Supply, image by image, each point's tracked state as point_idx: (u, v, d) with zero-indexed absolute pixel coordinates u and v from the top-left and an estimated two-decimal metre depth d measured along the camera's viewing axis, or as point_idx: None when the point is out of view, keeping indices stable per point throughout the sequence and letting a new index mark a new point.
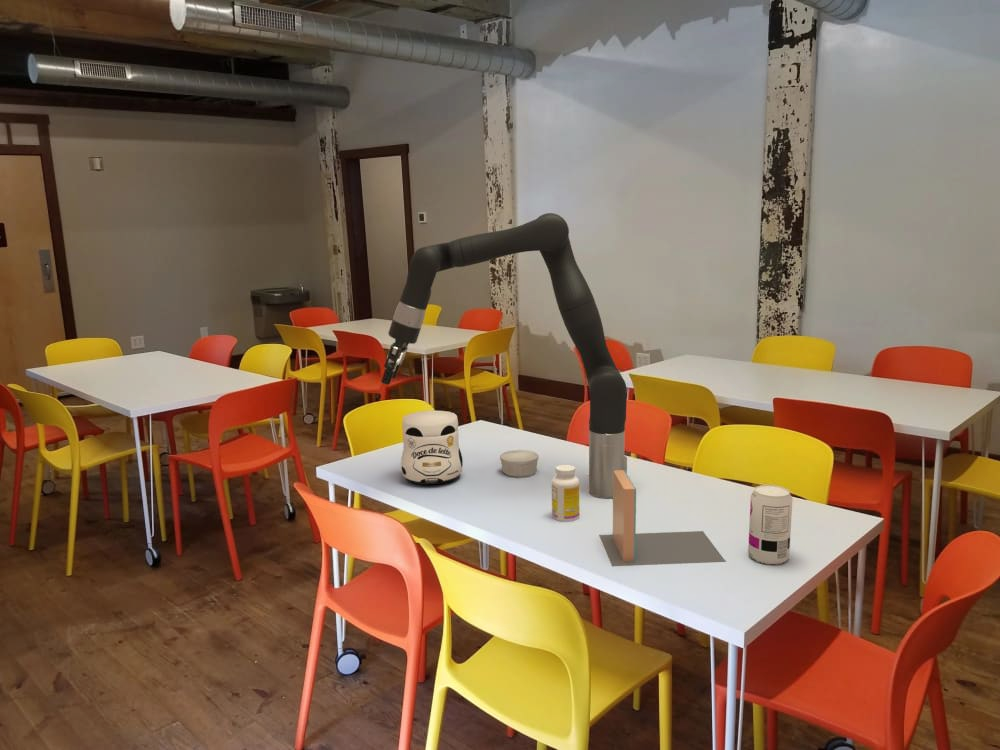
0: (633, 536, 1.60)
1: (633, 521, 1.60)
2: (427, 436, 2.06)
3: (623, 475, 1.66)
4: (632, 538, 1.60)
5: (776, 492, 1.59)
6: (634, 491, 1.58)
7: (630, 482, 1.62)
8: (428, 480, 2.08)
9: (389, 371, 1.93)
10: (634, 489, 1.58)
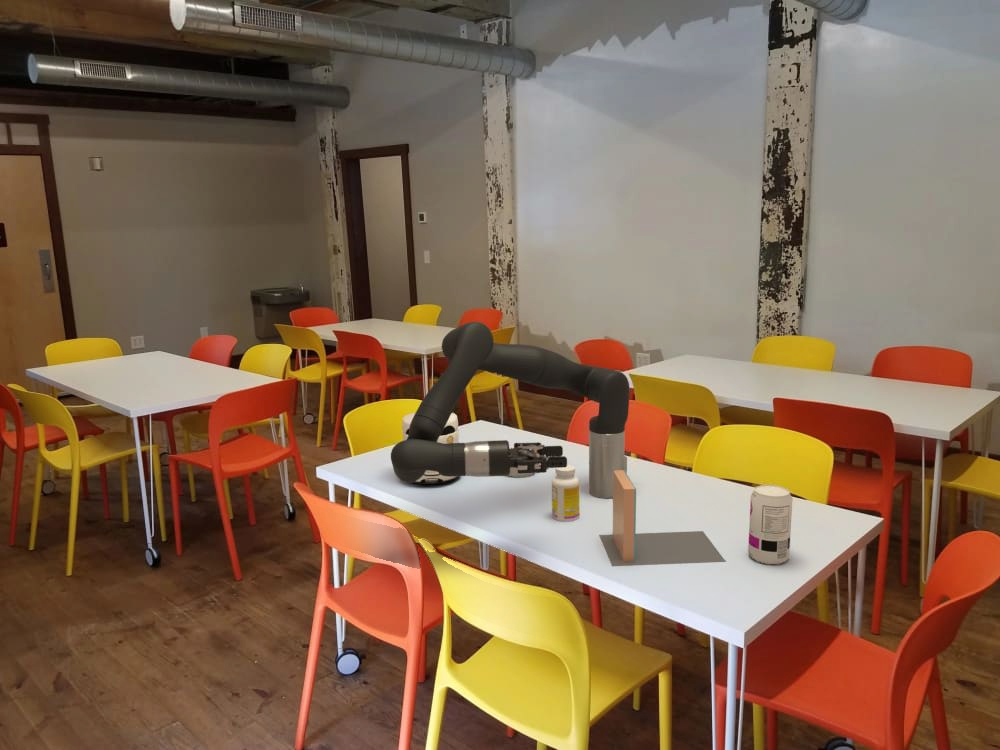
0: (633, 536, 1.60)
1: (633, 521, 1.60)
2: None
3: (623, 475, 1.66)
4: (632, 538, 1.60)
5: (776, 492, 1.59)
6: (634, 491, 1.58)
7: (630, 482, 1.62)
8: (428, 480, 2.08)
9: (549, 463, 1.57)
10: (634, 489, 1.58)
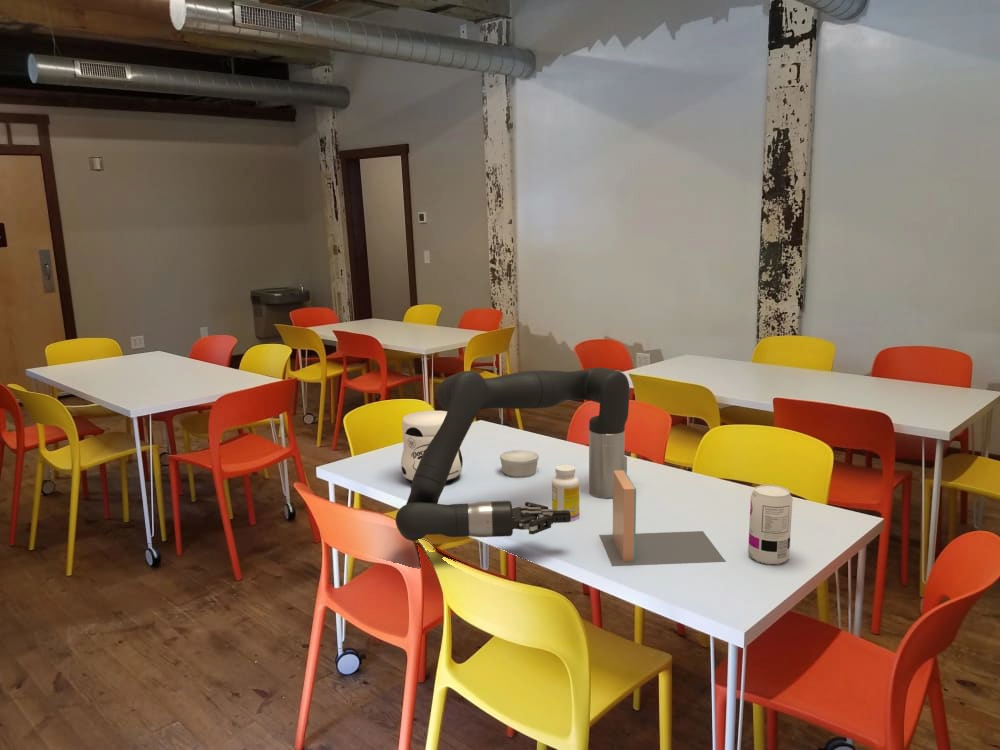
0: (633, 536, 1.60)
1: (633, 521, 1.60)
2: (427, 436, 2.06)
3: (623, 475, 1.66)
4: (632, 538, 1.60)
5: (776, 492, 1.59)
6: (634, 491, 1.58)
7: (630, 482, 1.62)
8: None
9: (554, 518, 1.64)
10: (634, 489, 1.58)
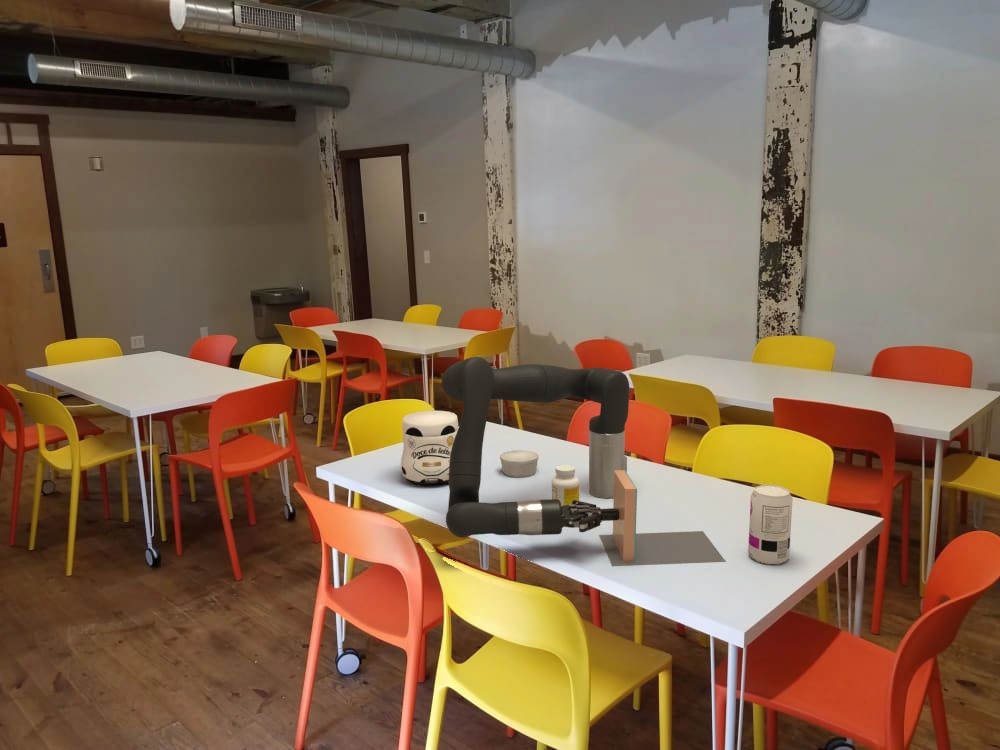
0: (633, 536, 1.60)
1: (634, 521, 1.60)
2: (427, 436, 2.06)
3: (624, 475, 1.66)
4: (632, 538, 1.60)
5: (776, 492, 1.59)
6: (635, 491, 1.58)
7: (631, 482, 1.62)
8: (428, 480, 2.08)
9: (603, 516, 1.64)
10: (635, 489, 1.58)
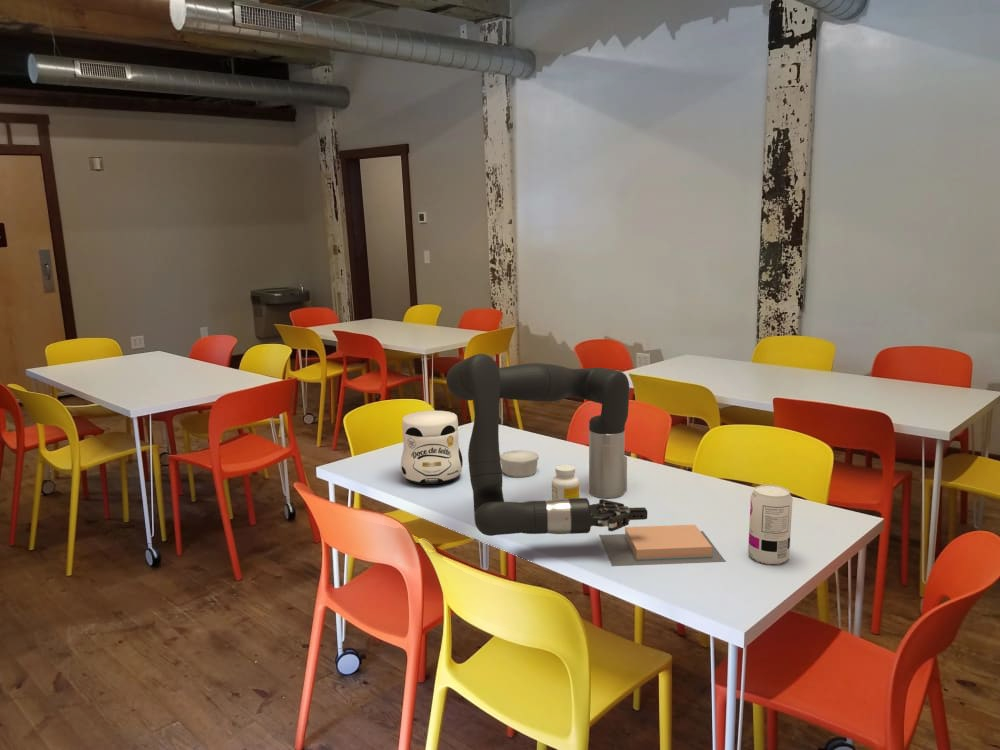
0: (662, 557, 1.61)
1: (678, 557, 1.62)
2: (427, 436, 2.06)
3: None
4: (660, 557, 1.61)
5: (776, 492, 1.59)
6: (708, 556, 1.62)
7: None
8: (428, 480, 2.08)
9: (631, 515, 1.64)
10: (710, 556, 1.62)
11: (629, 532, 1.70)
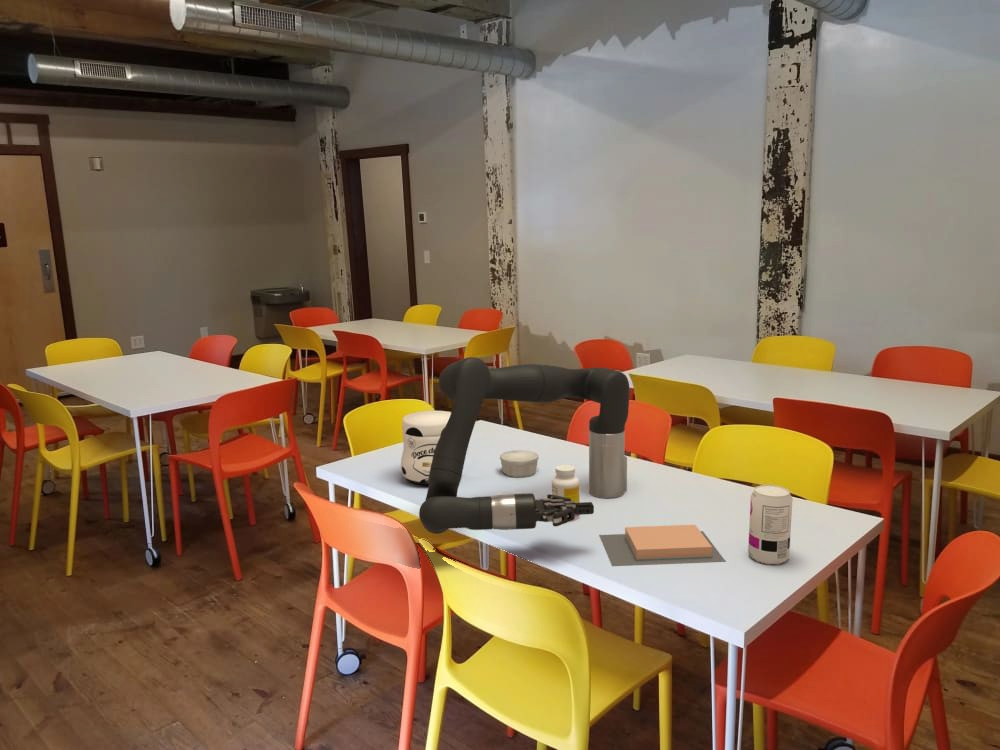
0: (662, 557, 1.61)
1: (678, 557, 1.62)
2: (427, 436, 2.06)
3: None
4: (660, 557, 1.61)
5: (776, 492, 1.59)
6: (708, 556, 1.62)
7: None
8: (428, 480, 2.08)
9: (577, 510, 1.63)
10: (710, 556, 1.62)
11: (629, 532, 1.70)
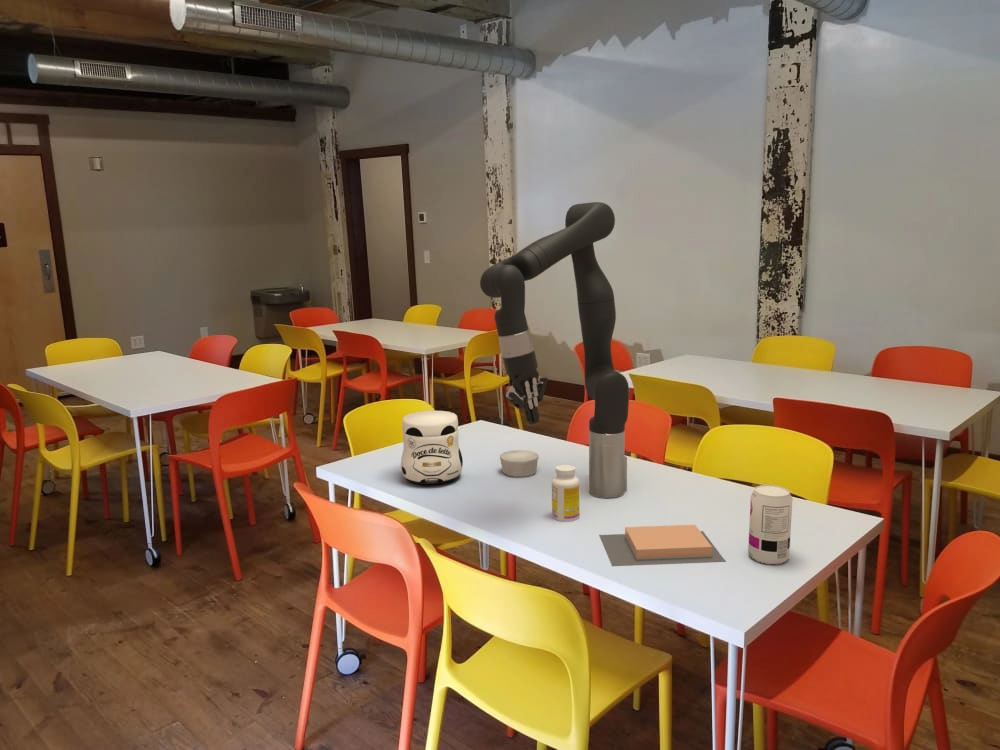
0: (662, 557, 1.61)
1: (678, 557, 1.62)
2: (427, 436, 2.06)
3: None
4: (660, 557, 1.61)
5: (776, 492, 1.59)
6: (708, 556, 1.62)
7: None
8: (428, 480, 2.08)
9: (527, 410, 1.77)
10: (710, 556, 1.62)
11: (629, 532, 1.70)
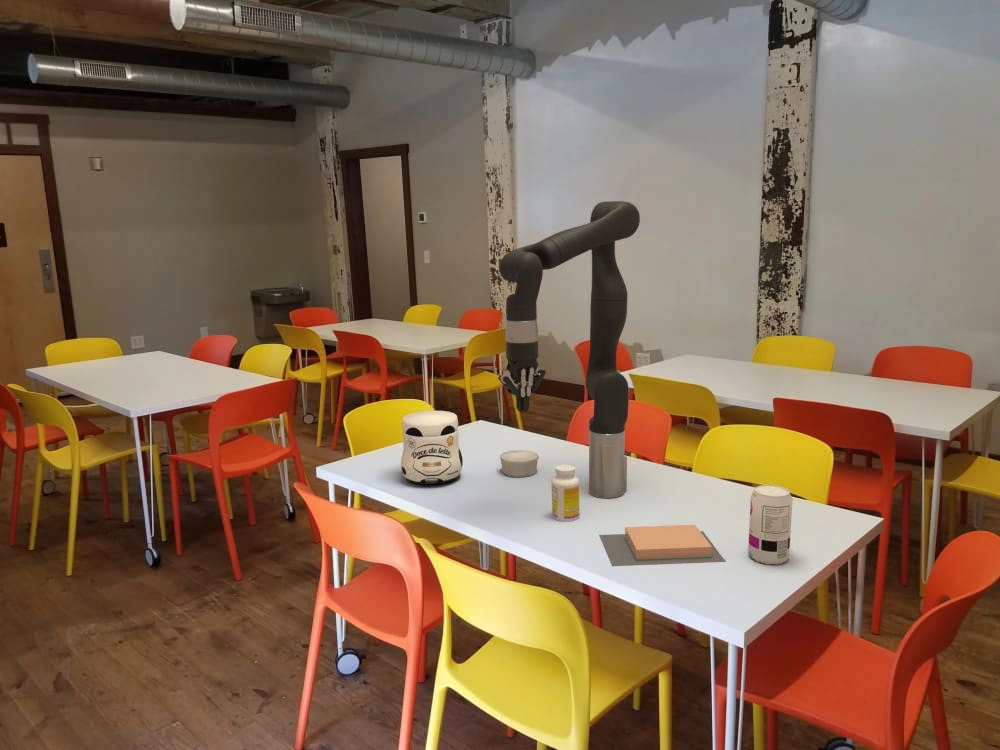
0: (662, 557, 1.61)
1: (678, 557, 1.62)
2: (427, 436, 2.06)
3: None
4: (660, 557, 1.61)
5: (776, 492, 1.59)
6: (708, 556, 1.62)
7: None
8: (428, 480, 2.08)
9: (518, 397, 1.79)
10: (710, 556, 1.62)
11: (629, 532, 1.70)
